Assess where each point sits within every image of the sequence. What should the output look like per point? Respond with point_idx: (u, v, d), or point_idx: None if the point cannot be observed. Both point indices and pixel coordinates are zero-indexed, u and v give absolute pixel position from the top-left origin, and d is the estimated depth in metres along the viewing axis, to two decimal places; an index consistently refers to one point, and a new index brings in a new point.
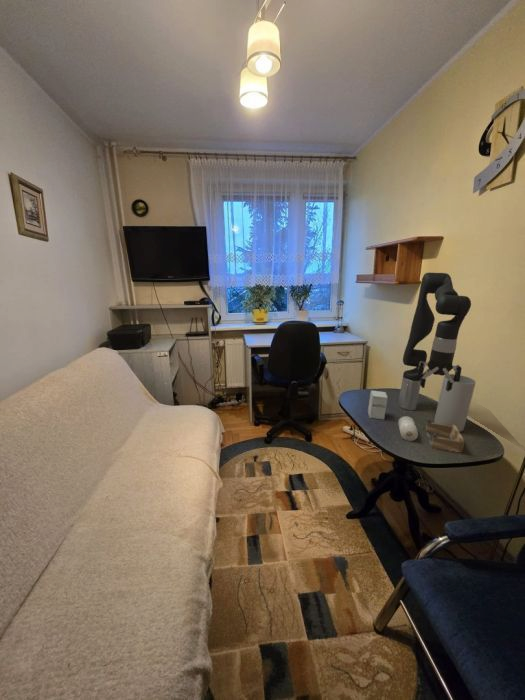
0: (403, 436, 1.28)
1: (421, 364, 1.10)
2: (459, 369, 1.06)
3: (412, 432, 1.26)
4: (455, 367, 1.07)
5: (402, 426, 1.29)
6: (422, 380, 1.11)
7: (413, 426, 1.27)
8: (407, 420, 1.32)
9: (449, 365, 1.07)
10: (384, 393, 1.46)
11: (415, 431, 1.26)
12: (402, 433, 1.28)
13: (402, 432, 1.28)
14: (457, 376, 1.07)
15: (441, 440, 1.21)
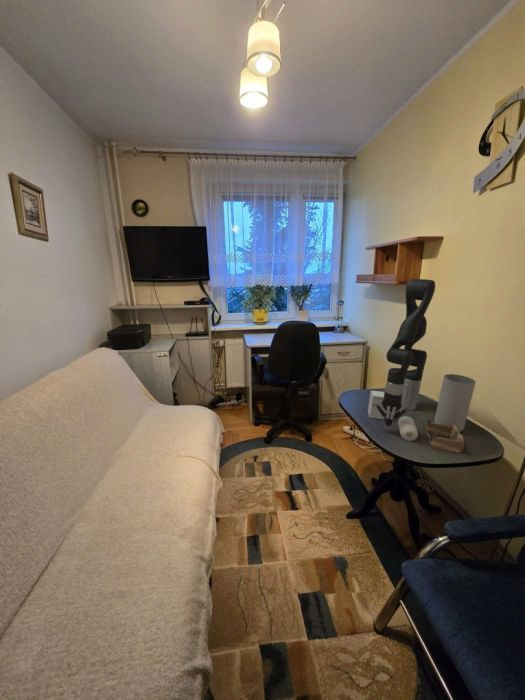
0: (403, 436, 1.28)
1: (377, 407, 1.32)
2: (403, 412, 1.29)
3: (412, 432, 1.26)
4: (402, 409, 1.29)
5: (402, 426, 1.29)
6: (386, 419, 1.33)
7: (413, 426, 1.27)
8: (407, 420, 1.32)
9: (400, 405, 1.29)
10: None
11: (415, 431, 1.26)
12: (402, 433, 1.28)
13: (402, 432, 1.28)
14: (398, 415, 1.30)
15: (441, 440, 1.21)
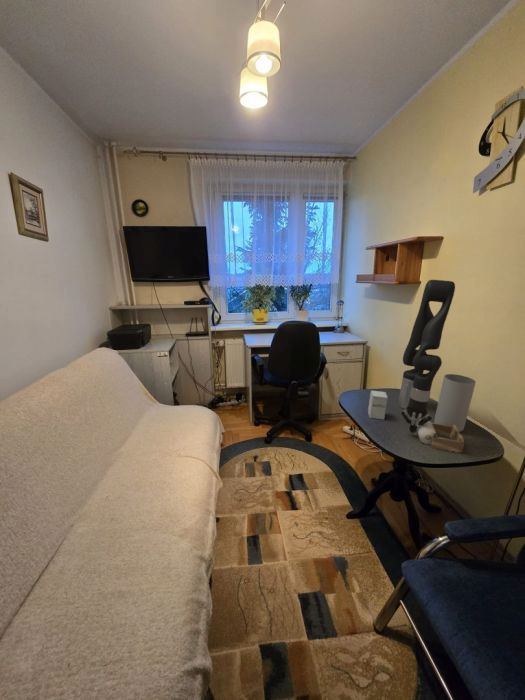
0: (428, 431, 1.24)
1: (402, 413, 1.29)
2: (429, 418, 1.26)
3: (428, 440, 1.25)
4: (428, 415, 1.27)
5: None
6: (411, 426, 1.30)
7: None
8: None
9: (426, 411, 1.26)
10: (384, 393, 1.46)
11: (428, 443, 1.25)
12: (432, 432, 1.23)
13: (433, 433, 1.23)
14: (423, 422, 1.27)
15: (441, 440, 1.21)
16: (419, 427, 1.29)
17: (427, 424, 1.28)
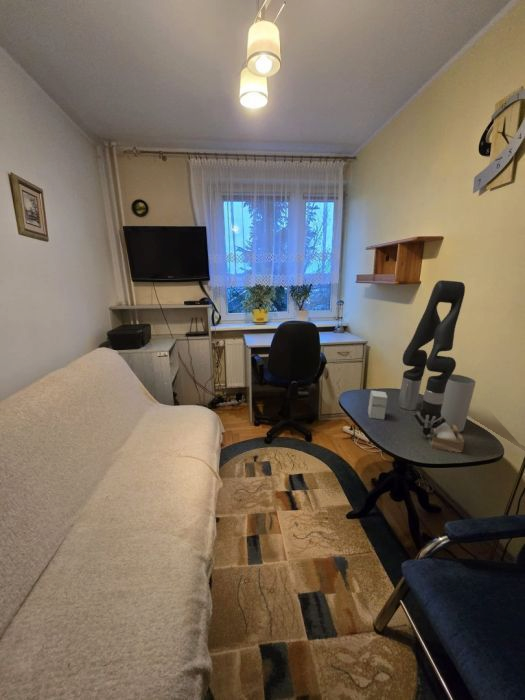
0: None
1: (415, 416, 1.28)
2: (443, 421, 1.24)
3: None
4: (441, 418, 1.25)
5: None
6: (424, 428, 1.28)
7: None
8: None
9: (439, 414, 1.24)
10: (384, 393, 1.46)
11: (441, 437, 1.23)
12: None
13: None
14: (437, 424, 1.26)
15: (441, 440, 1.21)
16: None
17: None
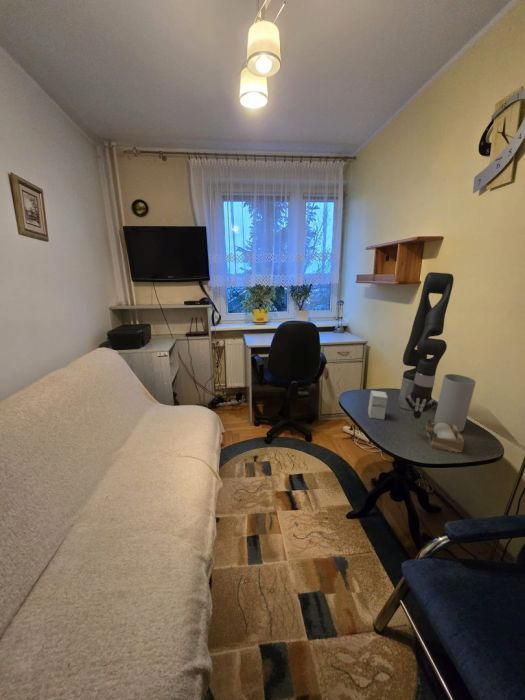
0: None
1: (406, 399, 1.28)
2: (433, 404, 1.24)
3: None
4: (432, 401, 1.25)
5: None
6: (415, 412, 1.28)
7: None
8: None
9: (430, 397, 1.24)
10: (384, 393, 1.46)
11: (441, 437, 1.23)
12: None
13: None
14: (428, 407, 1.25)
15: (441, 440, 1.21)
16: (453, 433, 1.25)
17: None
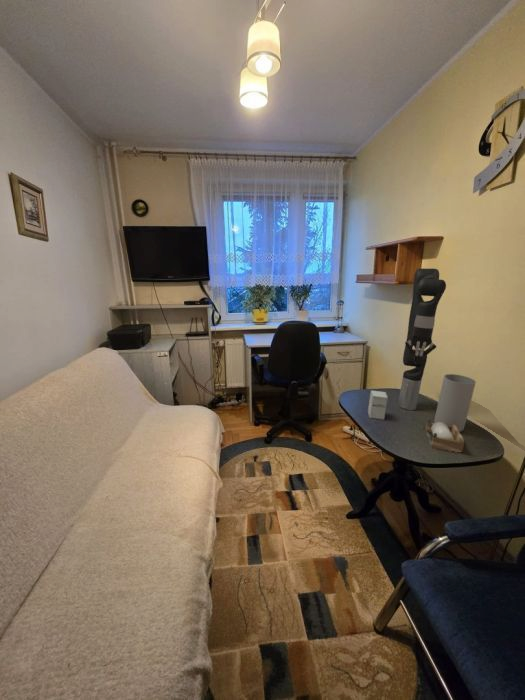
0: None
1: (406, 344, 1.28)
2: (434, 347, 1.25)
3: None
4: (432, 344, 1.25)
5: None
6: (415, 357, 1.29)
7: None
8: None
9: (430, 340, 1.24)
10: (384, 393, 1.46)
11: None
12: None
13: None
14: (428, 351, 1.26)
15: (441, 440, 1.21)
16: (449, 431, 1.25)
17: None
